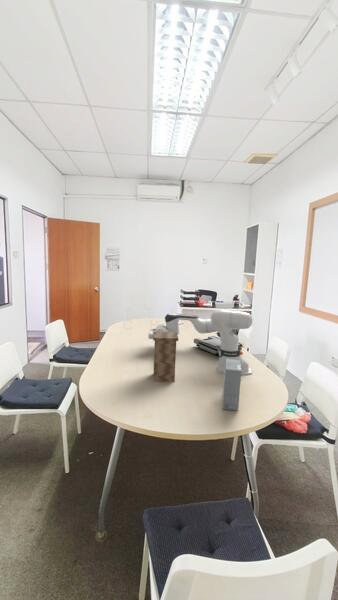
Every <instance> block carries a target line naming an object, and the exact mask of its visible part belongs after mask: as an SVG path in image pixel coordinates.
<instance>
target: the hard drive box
mask: <svg viewBox="0 0 338 600" xmlns="http://www.w3.org/2000/svg"><path fill="white" fill-rule="evenodd" d="M241 372H242V371H241V364H240V360H232V359H225V372H224V373H223V387H222V388H223V389H222V402H221V403H222V404H221V409H223V410H231V411H235V412H238V411H239V404H240V403H239V402H240V394H241V381H242V375H241Z"/></svg>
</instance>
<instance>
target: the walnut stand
mask: <svg viewBox="0 0 338 600" xmlns="http://www.w3.org/2000/svg"><path fill="white" fill-rule="evenodd" d="M152 341H153V342H154V351H153V352H154V353H153V354H154V355H153V382H155V383H157V382H161V383H162V382H164V383H165V382H166V383H168V382H169V383H170V382H171V383H172V382H173V383H175V381H176V357H177V356H176V354H177V342H179V336H178V335H177V332H153V339H152Z"/></svg>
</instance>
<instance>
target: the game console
mask: <svg viewBox="0 0 338 600" xmlns="http://www.w3.org/2000/svg"><path fill="white" fill-rule="evenodd" d="M193 344H195V345H196V347H197V349H199V350H201V351H203V352H206V353H208V354H211V355H212V356H215V357H218V358H219V350H220V345H221V338H220V337H218V336H214V335H209V336H207V338H203V339H202V338H198V337H197V338H193ZM238 349H239V350H240V351H242V350H243V344H241V343H239V342H238Z"/></svg>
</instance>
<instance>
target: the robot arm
mask: <svg viewBox="0 0 338 600" xmlns="http://www.w3.org/2000/svg"><path fill="white" fill-rule="evenodd" d="M180 320H181V321H189V322H190V323H191V324H192V325H193V328H194V329H195V331H196V332H197V333H199V334H211V333H215V334H216V336H217V338H220V339H221V345H220V350H219V357H218V362H217V365H216V369H215V370H216V371H218V372H220V373H221V374H224V372H225V359H232V360H240V364H241V371H242V372H241V376H244V375H252V374H253V371H252V368H251V367H249V362H248V360H247V359H246V358H244V357H243V356H242V355H244V352H243V351H242V350H241V351H240V350H239V349H238V343H239V337H238V334H236V333H234V332H232V330H247V329H250V328H251V326H252V325H253V316H252V315H251V314H250V313H248V312H245V311H239V310H230V309H229V310H228V309H225V308H220V309H216V310H213V311H212V312H211V315H210V318H205V319H204V318H200V317H199V316H197V315H194V314H183V313H174V312H169V313H167V314H165V316H164V321H165V324H163V323H162V324H161V323H159V325H157V326H156V327H155V328H151V329H150V330H149V332H148V339H149V340H153V332H177V336H178V335H179V334H180V328H179V327H180V326H179V321H180Z"/></svg>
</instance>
